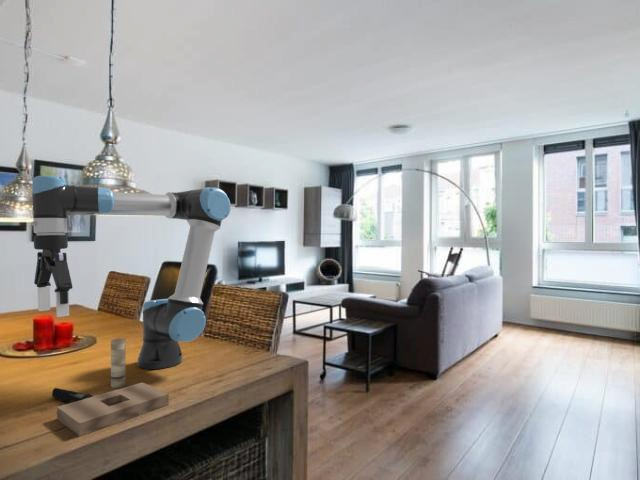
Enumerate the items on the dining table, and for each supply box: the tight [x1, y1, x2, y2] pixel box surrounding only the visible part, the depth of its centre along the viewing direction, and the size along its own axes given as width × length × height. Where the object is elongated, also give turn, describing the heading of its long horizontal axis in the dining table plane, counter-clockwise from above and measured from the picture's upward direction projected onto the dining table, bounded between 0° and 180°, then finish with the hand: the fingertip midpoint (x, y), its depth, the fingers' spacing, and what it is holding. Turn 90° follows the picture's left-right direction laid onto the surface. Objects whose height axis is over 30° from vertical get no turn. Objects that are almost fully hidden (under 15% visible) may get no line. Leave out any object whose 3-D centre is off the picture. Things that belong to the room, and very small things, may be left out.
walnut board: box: [56, 382, 170, 437], centre depth 104 cm, size 22×14×3 cm, turn 141°
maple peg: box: [110, 337, 127, 389], centre depth 122 cm, size 4×4×14 cm
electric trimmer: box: [51, 387, 94, 403], centre depth 110 cm, size 4×16×3 cm, turn 66°
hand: (53, 313), depth 107 cm, fingers open, 13 cm apart
